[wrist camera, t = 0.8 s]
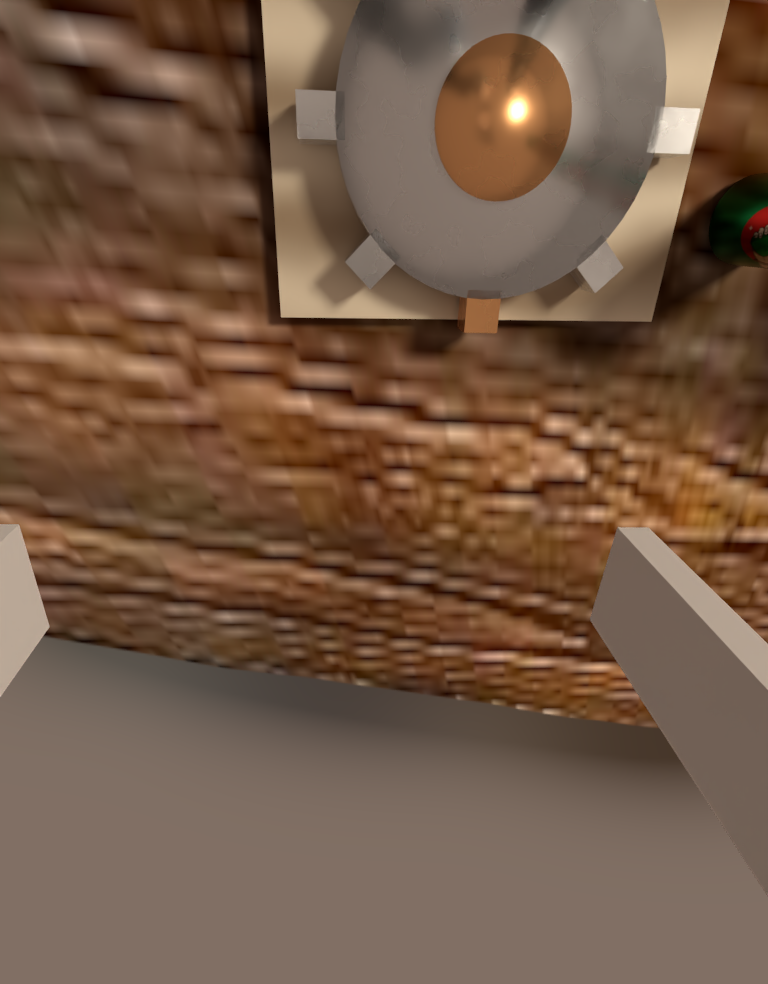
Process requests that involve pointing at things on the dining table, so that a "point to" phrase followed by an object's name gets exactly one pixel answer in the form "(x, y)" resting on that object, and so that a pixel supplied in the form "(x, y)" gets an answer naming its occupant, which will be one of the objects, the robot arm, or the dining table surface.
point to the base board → (338, 231)
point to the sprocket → (496, 139)
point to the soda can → (742, 223)
